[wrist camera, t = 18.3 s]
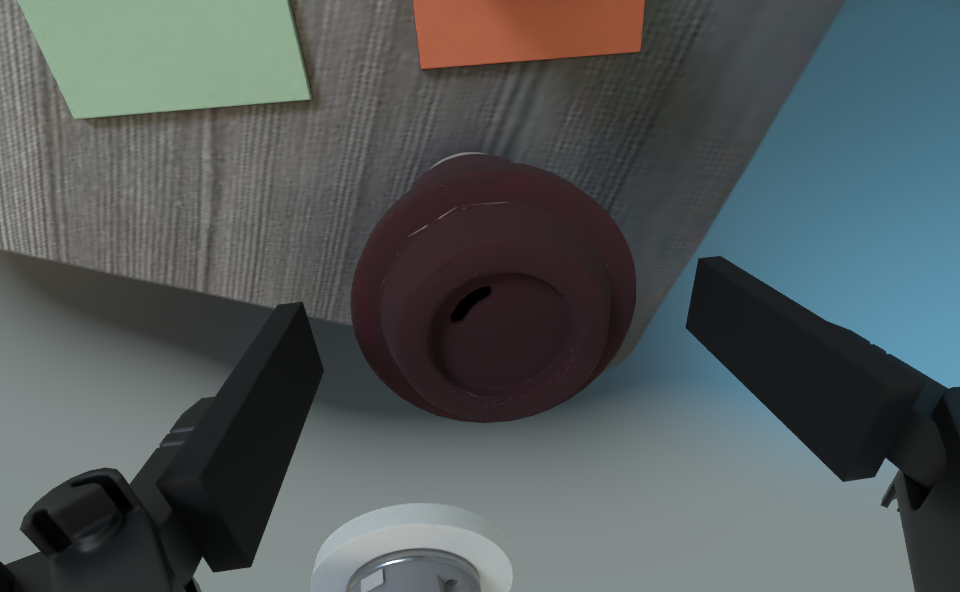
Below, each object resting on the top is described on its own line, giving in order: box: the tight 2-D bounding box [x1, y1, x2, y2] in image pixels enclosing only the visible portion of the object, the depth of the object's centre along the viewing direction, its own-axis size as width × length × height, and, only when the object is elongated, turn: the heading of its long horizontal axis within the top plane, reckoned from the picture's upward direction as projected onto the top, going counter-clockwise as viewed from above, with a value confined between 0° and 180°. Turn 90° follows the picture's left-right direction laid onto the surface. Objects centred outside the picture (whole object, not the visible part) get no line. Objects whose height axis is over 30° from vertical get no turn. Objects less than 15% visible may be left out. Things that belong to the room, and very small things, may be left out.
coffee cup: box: [351, 152, 636, 423], centre depth 20 cm, size 10×10×15 cm
